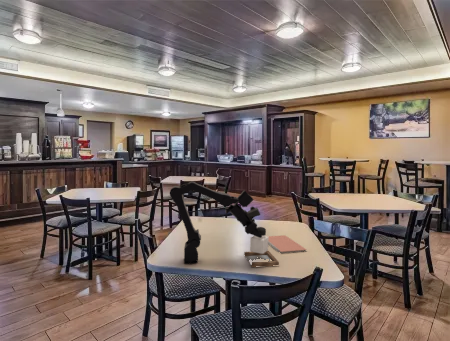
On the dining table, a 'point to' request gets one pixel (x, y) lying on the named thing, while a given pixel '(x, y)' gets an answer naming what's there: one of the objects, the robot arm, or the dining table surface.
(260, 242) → the medicine bottle
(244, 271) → the dining table surface
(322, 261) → the dining table surface
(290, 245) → the notebook
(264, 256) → the wooden picture frame
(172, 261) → the dining table surface
